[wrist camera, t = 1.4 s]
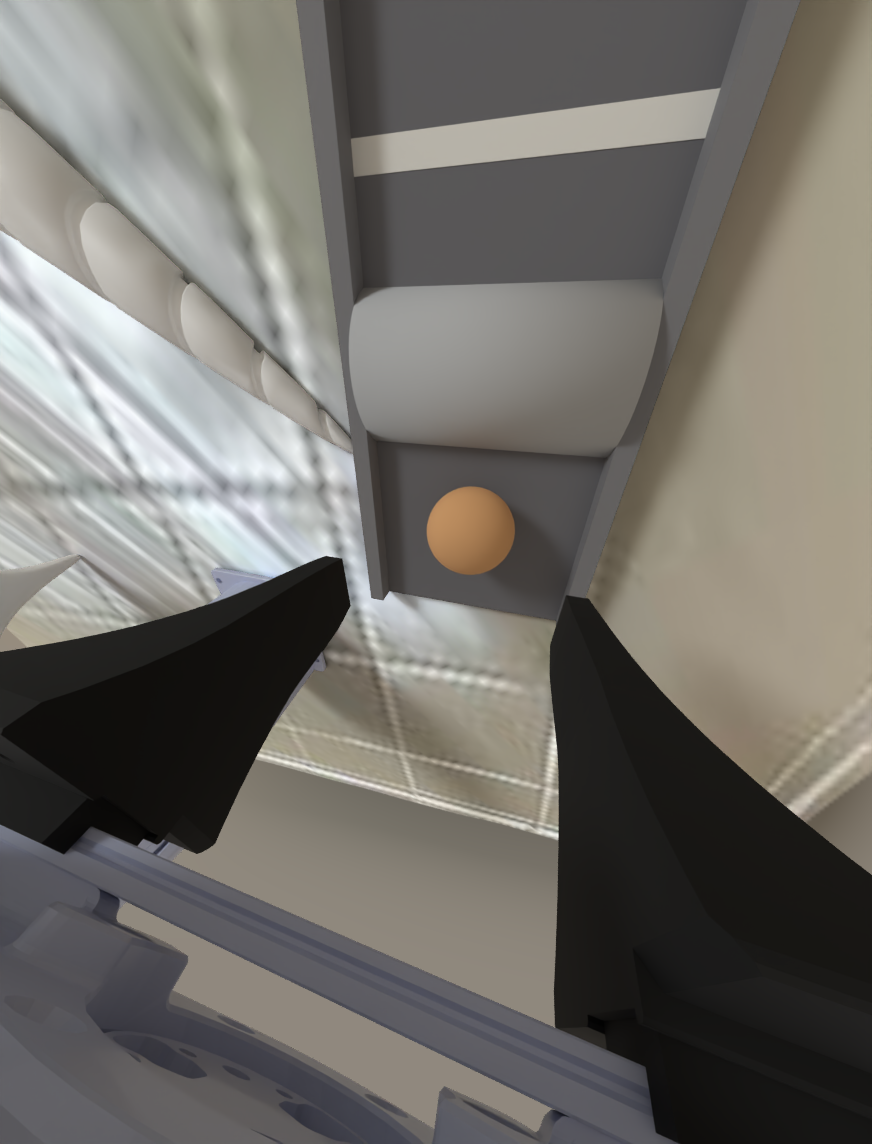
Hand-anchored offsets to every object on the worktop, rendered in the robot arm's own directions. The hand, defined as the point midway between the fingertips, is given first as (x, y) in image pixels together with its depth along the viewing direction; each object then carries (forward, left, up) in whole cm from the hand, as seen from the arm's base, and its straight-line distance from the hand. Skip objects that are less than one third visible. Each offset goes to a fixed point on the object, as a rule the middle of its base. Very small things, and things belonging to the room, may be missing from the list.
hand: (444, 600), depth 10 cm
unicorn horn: (+10, +16, -8) cm, 21 cm away
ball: (0, 0, -7) cm, 7 cm away
